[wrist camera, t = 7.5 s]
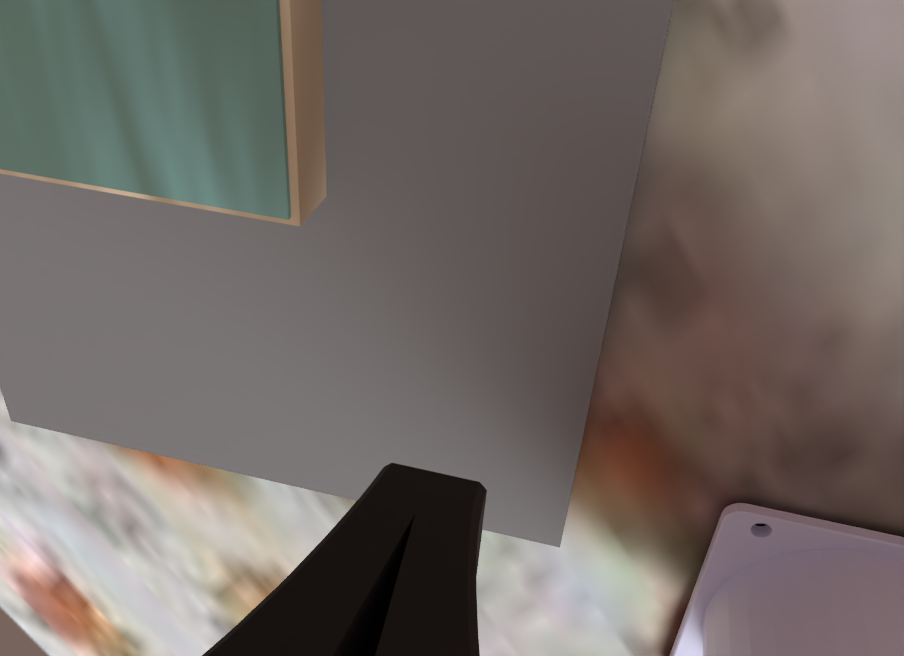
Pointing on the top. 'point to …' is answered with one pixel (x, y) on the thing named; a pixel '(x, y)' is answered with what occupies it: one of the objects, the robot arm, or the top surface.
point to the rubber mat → (365, 268)
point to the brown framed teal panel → (168, 101)
